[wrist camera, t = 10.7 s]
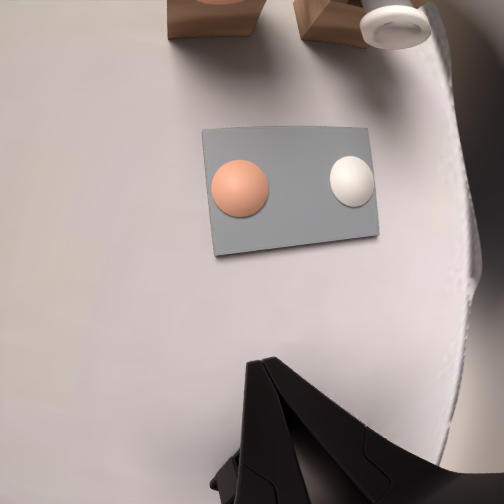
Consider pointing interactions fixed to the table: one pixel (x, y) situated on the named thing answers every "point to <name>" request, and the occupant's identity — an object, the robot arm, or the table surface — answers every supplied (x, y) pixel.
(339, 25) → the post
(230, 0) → the plunger
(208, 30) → the post
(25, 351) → the table surface
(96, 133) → the table surface
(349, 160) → the card
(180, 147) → the table surface
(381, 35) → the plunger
